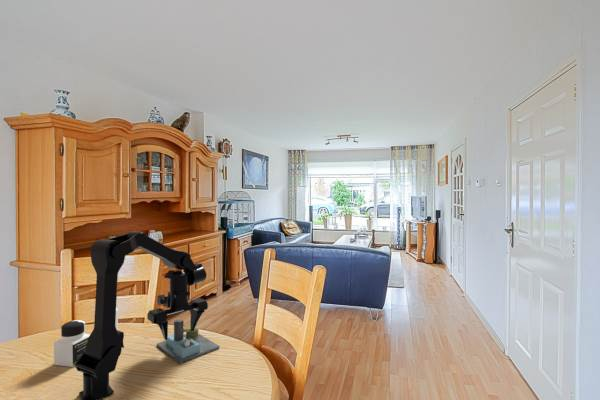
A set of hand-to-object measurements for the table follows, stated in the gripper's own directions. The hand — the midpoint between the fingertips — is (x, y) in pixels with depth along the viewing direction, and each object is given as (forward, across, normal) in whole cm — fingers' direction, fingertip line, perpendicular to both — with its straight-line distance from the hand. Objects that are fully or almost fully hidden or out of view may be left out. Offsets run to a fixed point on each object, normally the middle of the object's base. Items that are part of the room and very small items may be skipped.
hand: (179, 335), depth 109 cm
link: (+4, 0, +1) cm, 4 cm away
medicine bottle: (+5, +26, -16) cm, 32 cm away
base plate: (+5, -2, +1) cm, 5 cm away
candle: (+5, +14, -26) cm, 30 cm away
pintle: (+5, 0, +6) cm, 7 cm away
